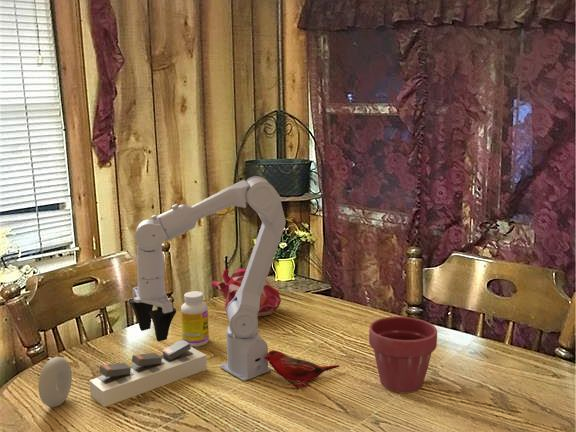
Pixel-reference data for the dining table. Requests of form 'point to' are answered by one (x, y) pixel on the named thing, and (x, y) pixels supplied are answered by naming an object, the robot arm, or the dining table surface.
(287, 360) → the decorative bird figurine
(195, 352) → the rocker switch panel
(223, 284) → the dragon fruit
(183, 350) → the block
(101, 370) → the rocker
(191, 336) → the supplement bottle
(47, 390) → the grey round disc
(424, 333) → the plant pot
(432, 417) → the dining table surface
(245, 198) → the robot arm
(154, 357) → the rocker
